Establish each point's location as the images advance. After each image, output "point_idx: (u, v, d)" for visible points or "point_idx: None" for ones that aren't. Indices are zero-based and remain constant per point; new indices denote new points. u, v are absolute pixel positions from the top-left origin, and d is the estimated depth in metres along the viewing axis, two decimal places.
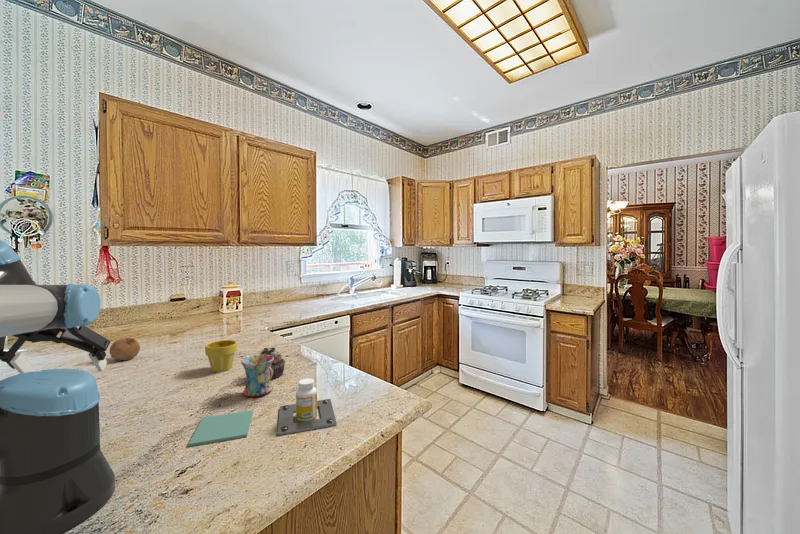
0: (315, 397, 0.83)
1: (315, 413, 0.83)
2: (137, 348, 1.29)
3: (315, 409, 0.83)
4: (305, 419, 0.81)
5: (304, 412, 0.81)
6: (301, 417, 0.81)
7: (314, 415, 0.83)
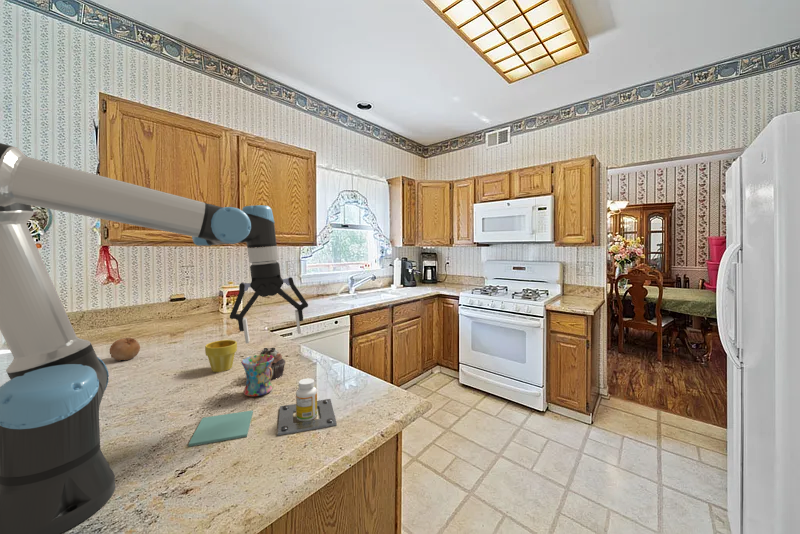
0: (315, 397, 0.83)
1: (315, 413, 0.83)
2: (137, 348, 1.29)
3: (315, 409, 0.83)
4: (305, 419, 0.81)
5: (304, 412, 0.81)
6: (301, 417, 0.81)
7: (314, 415, 0.83)
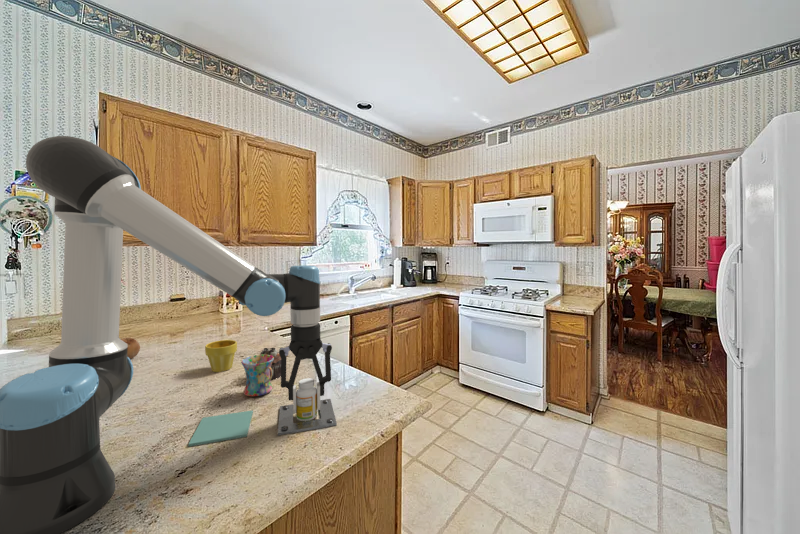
0: (315, 397, 0.83)
1: (315, 413, 0.83)
2: (137, 348, 1.29)
3: (315, 409, 0.83)
4: (305, 419, 0.81)
5: (304, 412, 0.81)
6: (301, 417, 0.81)
7: (314, 415, 0.83)
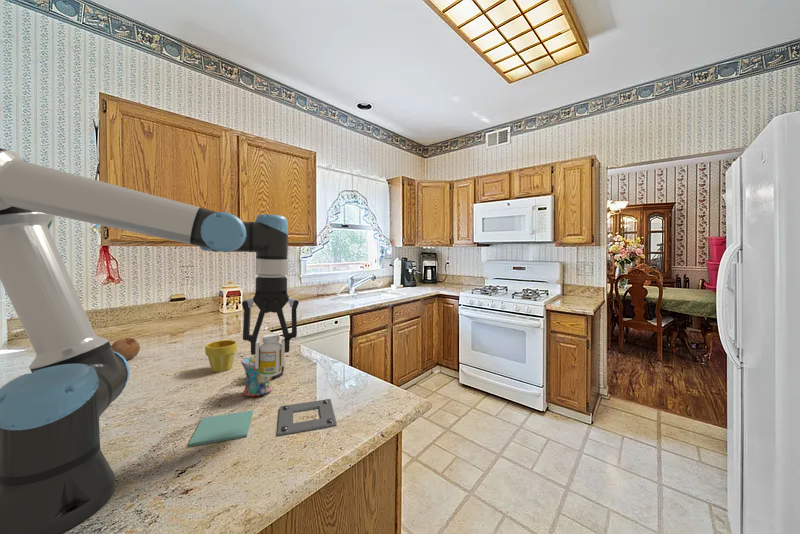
0: (279, 353, 0.80)
1: (279, 369, 0.80)
2: (137, 348, 1.29)
3: (279, 365, 0.80)
4: (267, 374, 0.78)
5: (266, 367, 0.78)
6: (263, 372, 0.78)
7: (277, 371, 0.80)
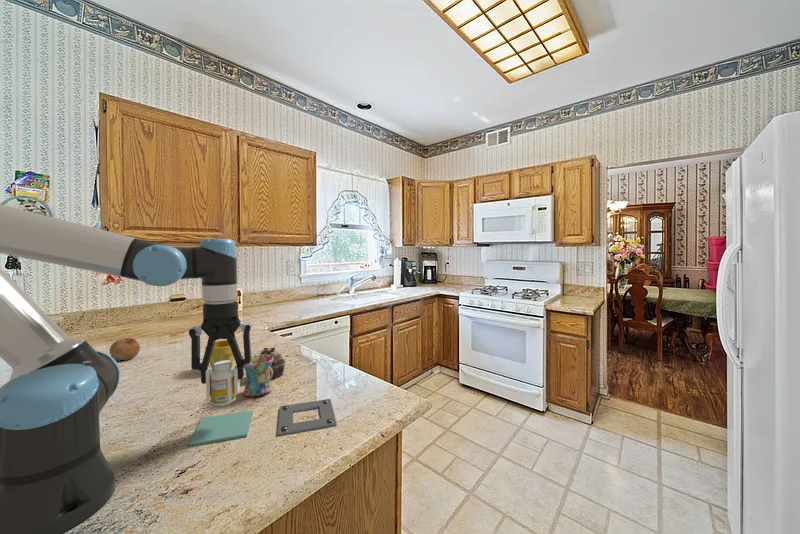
0: (231, 380, 0.77)
1: (232, 397, 0.78)
2: (137, 348, 1.29)
3: (232, 393, 0.77)
4: (219, 403, 0.76)
5: (218, 396, 0.76)
6: (215, 401, 0.76)
7: (230, 399, 0.77)
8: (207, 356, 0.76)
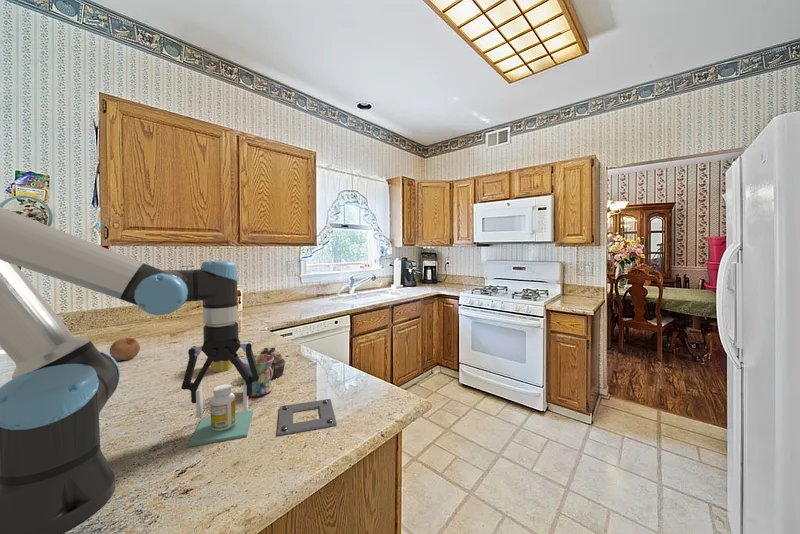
0: (231, 405, 0.78)
1: (231, 422, 0.78)
2: (137, 348, 1.29)
3: (231, 418, 0.78)
4: (219, 428, 0.76)
5: (217, 421, 0.76)
6: (214, 426, 0.76)
7: (230, 424, 0.77)
8: (200, 377, 0.75)
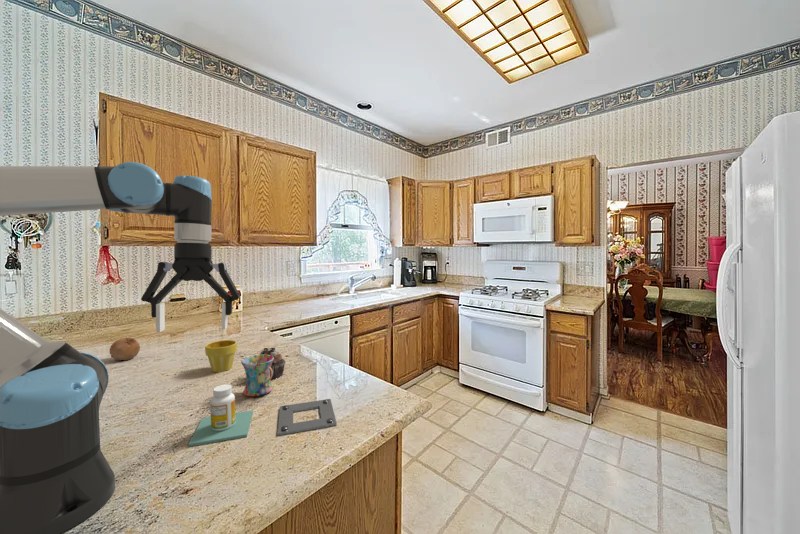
0: (231, 405, 0.78)
1: (231, 422, 0.78)
2: (137, 348, 1.29)
3: (231, 418, 0.78)
4: (219, 429, 0.76)
5: (217, 421, 0.76)
6: (214, 426, 0.76)
7: (230, 424, 0.77)
8: (164, 291, 0.73)
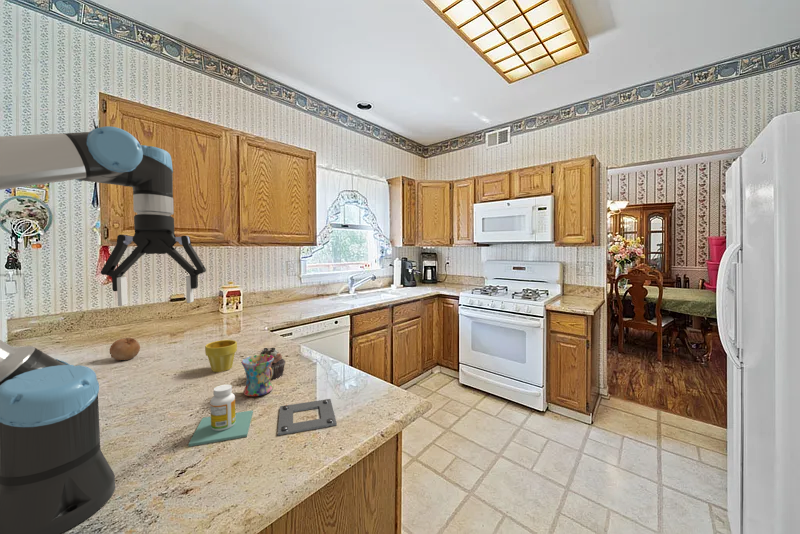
0: (231, 405, 0.78)
1: (231, 422, 0.78)
2: (137, 348, 1.29)
3: (231, 418, 0.78)
4: (219, 429, 0.76)
5: (217, 421, 0.76)
6: (214, 426, 0.76)
7: (230, 424, 0.77)
8: (125, 264, 0.72)
